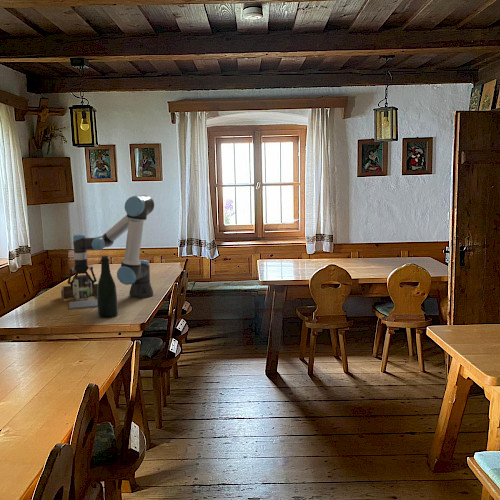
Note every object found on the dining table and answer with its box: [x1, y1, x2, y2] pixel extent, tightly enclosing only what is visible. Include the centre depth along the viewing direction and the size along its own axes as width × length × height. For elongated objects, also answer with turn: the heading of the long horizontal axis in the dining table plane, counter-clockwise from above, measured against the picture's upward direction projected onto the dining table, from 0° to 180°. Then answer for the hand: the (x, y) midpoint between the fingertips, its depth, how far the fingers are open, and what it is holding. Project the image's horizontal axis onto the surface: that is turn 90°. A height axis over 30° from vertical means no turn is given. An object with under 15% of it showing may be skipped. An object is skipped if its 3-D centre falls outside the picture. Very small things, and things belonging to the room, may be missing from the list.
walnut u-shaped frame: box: [60, 283, 98, 303], centre depth 321 cm, size 15×25×7 cm, turn 109°
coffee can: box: [72, 274, 92, 301], centre depth 320 cm, size 10×10×14 cm
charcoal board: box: [68, 299, 98, 310], centre depth 302 cm, size 16×16×1 cm
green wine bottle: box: [96, 255, 119, 319], centre depth 275 cm, size 10×10×33 cm
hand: (82, 293), depth 320 cm, fingers closed on coffee can, 10 cm apart
